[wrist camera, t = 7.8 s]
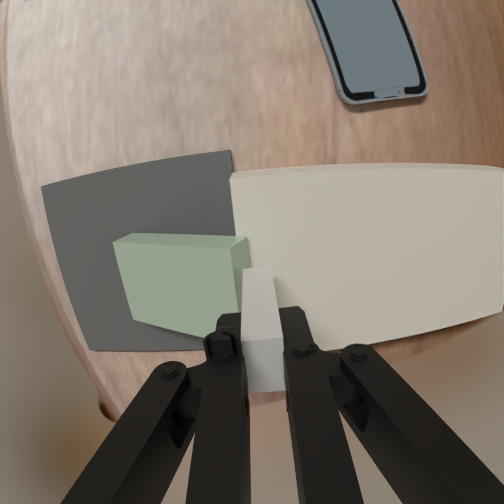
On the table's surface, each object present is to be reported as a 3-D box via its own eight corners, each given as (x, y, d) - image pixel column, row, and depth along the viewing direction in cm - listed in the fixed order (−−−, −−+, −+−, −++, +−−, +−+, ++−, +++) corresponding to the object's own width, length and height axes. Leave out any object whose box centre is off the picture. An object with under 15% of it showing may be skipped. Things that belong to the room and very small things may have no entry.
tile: (247, 236, 17) (230, 248, 16) (256, 327, 19) (243, 346, 18) (132, 232, 21) (112, 242, 19) (150, 306, 23) (133, 319, 21)
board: (492, 166, 20) (523, 173, 16) (478, 291, 24) (501, 311, 20) (232, 172, 20) (229, 179, 16) (250, 327, 24) (251, 359, 20)
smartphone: (365, -62, 13) (432, 95, 17) (362, -57, 14) (425, 96, 18) (278, -61, 13) (343, 105, 18) (277, -55, 14) (339, 107, 19)
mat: (230, 150, 20) (230, 150, 19) (252, 342, 25) (252, 345, 24) (44, 185, 20) (41, 186, 20) (91, 346, 25) (89, 350, 25)
